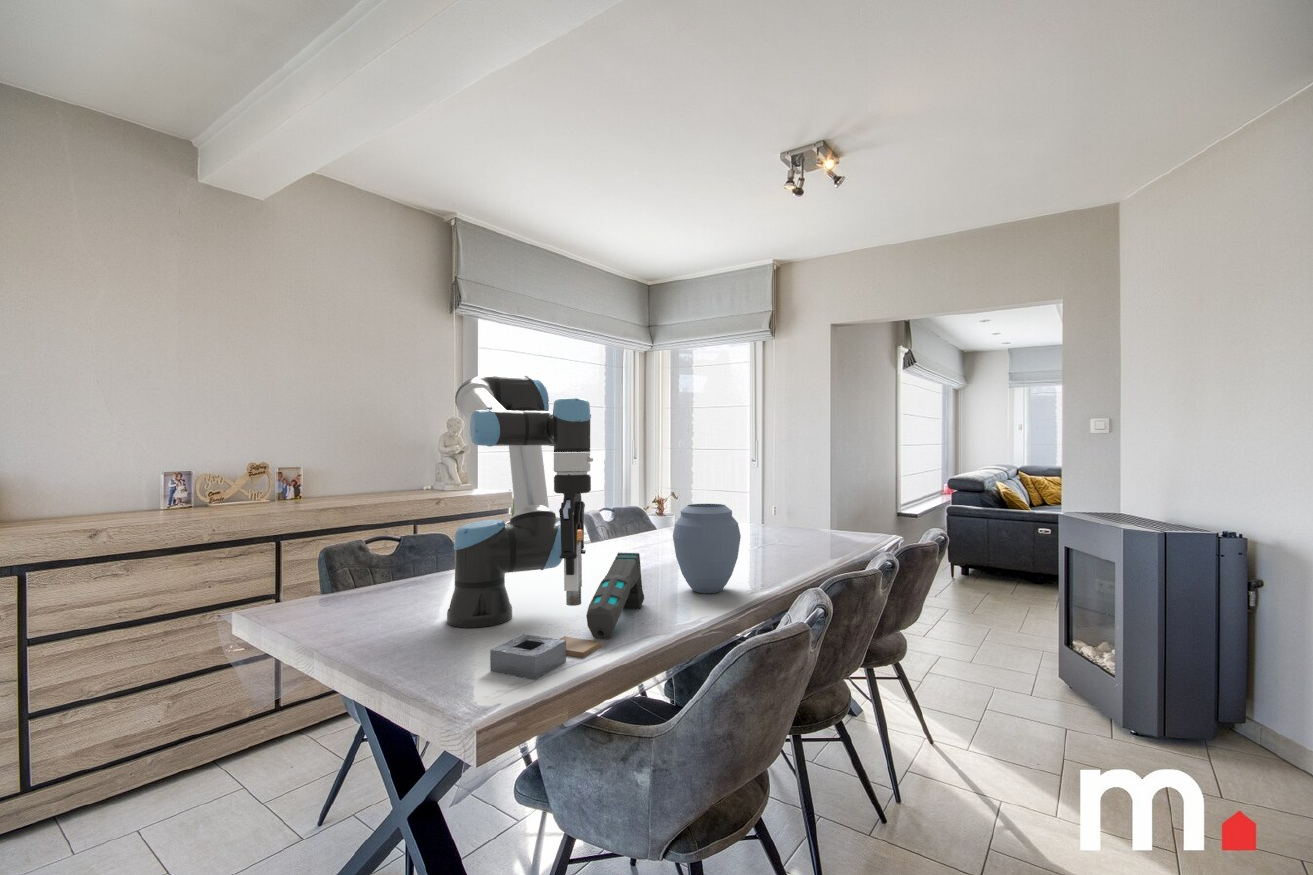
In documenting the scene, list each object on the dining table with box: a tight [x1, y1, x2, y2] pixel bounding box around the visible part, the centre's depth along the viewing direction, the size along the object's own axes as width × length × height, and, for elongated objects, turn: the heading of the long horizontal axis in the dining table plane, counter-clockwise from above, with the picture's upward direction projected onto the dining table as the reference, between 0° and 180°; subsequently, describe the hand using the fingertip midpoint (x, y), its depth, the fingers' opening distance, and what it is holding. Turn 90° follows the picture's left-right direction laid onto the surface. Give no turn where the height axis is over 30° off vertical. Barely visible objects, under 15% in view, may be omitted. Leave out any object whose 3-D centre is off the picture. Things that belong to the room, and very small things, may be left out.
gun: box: [586, 552, 645, 640], centre depth 142 cm, size 7×29×15 cm, turn 169°
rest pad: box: [559, 635, 602, 658], centre depth 122 cm, size 9×7×1 cm
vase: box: [672, 503, 742, 595], centre depth 171 cm, size 20×20×24 cm
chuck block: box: [489, 633, 567, 681], centre depth 112 cm, size 10×10×4 cm
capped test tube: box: [565, 529, 583, 607], centre depth 122 cm, size 4×4×15 cm
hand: (573, 588), depth 122 cm, fingers closed on capped test tube, 3 cm apart
